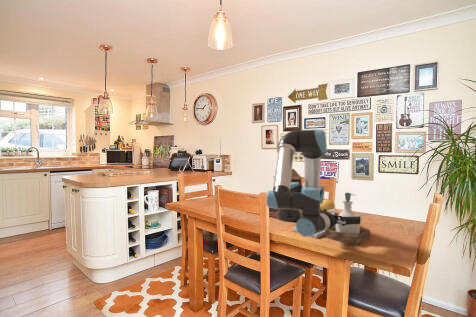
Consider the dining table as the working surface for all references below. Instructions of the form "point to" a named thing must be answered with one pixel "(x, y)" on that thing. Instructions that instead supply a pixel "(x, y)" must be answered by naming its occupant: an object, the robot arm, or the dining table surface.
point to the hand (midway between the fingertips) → (347, 214)
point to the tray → (311, 235)
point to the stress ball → (327, 205)
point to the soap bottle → (347, 212)
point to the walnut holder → (348, 236)
